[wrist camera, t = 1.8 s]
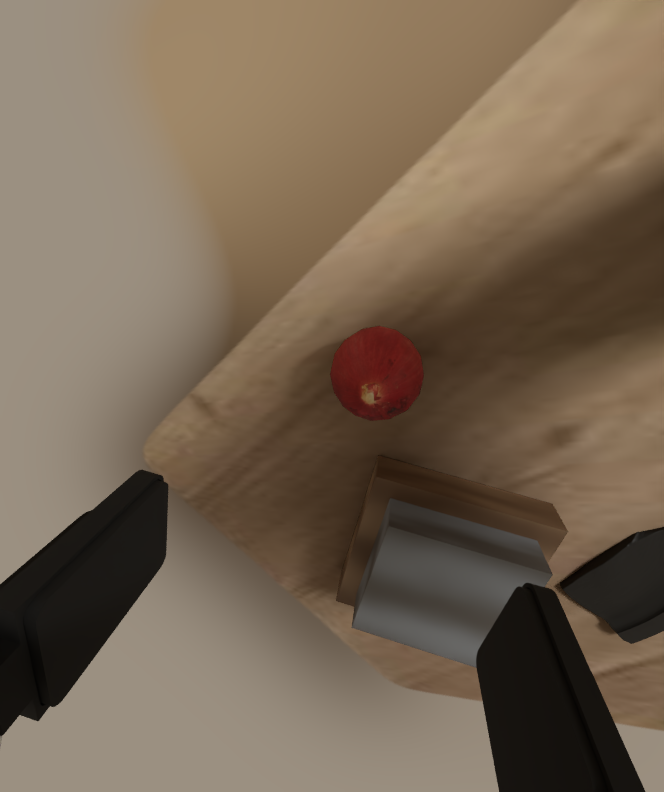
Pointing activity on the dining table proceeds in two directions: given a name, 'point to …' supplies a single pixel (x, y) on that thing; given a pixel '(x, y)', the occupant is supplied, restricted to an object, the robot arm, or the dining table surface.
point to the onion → (377, 373)
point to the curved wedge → (625, 586)
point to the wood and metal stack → (442, 557)
